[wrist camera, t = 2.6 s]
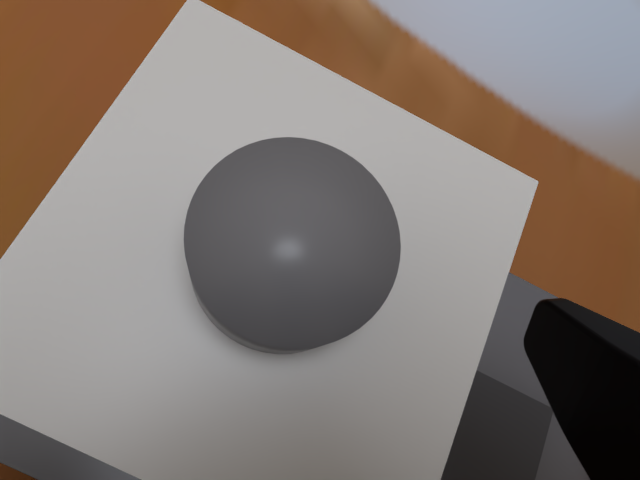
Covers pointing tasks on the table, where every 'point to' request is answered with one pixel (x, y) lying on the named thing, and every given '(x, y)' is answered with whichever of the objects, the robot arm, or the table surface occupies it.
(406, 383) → the white tall block
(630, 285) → the table surface
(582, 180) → the table surface
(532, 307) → the power strip
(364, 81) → the table surface
